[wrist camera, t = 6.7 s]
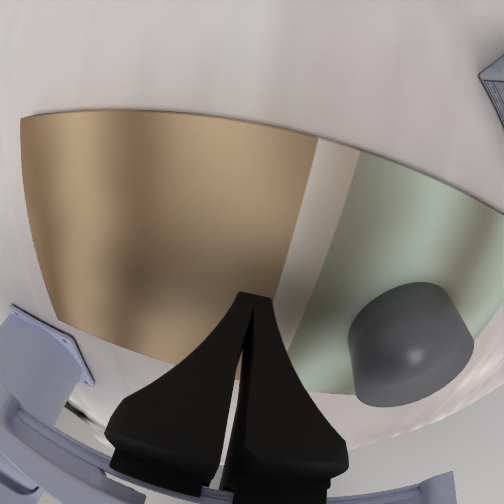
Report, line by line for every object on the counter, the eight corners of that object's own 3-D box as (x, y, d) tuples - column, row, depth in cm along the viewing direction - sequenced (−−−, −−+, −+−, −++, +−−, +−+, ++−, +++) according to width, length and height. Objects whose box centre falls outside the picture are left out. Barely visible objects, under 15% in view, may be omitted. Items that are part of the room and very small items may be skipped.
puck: (328, 357, 13) (332, 404, 11) (383, 268, 10) (406, 317, 8) (411, 367, 14) (422, 406, 11) (469, 294, 10) (494, 334, 8)
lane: (64, 311, 16) (58, 319, 16) (33, 115, 9) (20, 118, 8) (421, 385, 16) (423, 395, 15) (527, 229, 9) (536, 237, 8)
